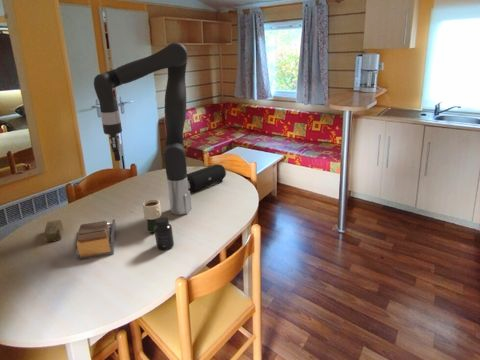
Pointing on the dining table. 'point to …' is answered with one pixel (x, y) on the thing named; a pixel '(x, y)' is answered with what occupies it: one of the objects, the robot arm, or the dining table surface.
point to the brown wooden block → (93, 231)
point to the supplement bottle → (163, 234)
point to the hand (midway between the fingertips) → (117, 160)
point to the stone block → (53, 230)
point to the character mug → (151, 213)
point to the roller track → (97, 245)
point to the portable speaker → (205, 177)
